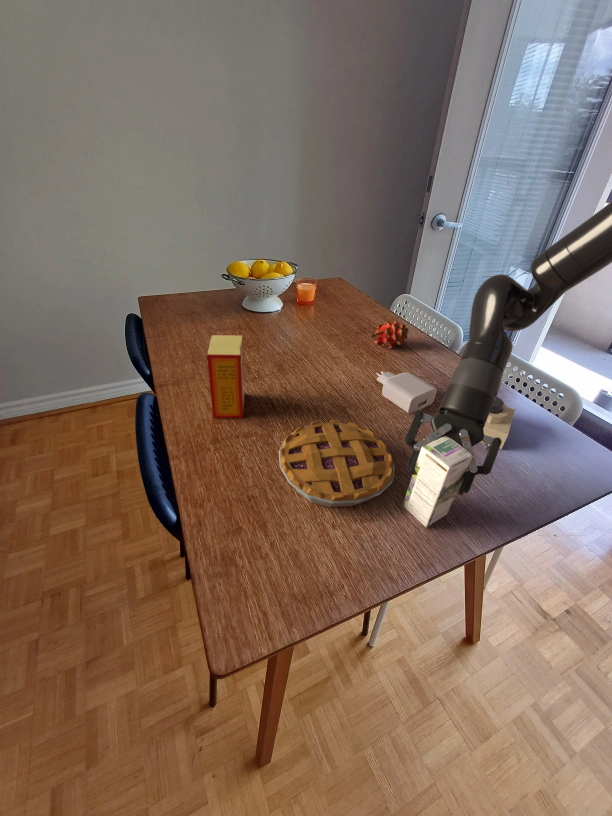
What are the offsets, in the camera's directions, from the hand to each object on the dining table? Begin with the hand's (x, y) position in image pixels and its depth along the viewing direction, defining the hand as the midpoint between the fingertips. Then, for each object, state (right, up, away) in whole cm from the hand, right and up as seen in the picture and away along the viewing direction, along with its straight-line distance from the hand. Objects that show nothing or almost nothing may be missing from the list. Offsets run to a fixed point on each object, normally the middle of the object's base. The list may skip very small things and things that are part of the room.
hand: (434, 483), depth 64 cm
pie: (-15, 0, +13) cm, 20 cm away
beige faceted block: (+19, +8, +26) cm, 34 cm away
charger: (+2, +16, +36) cm, 39 cm away
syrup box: (0, -6, +6) cm, 8 cm away
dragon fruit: (+4, +31, +58) cm, 66 cm away
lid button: (+20, +12, +23) cm, 33 cm away
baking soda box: (-38, +13, +28) cm, 49 cm away
